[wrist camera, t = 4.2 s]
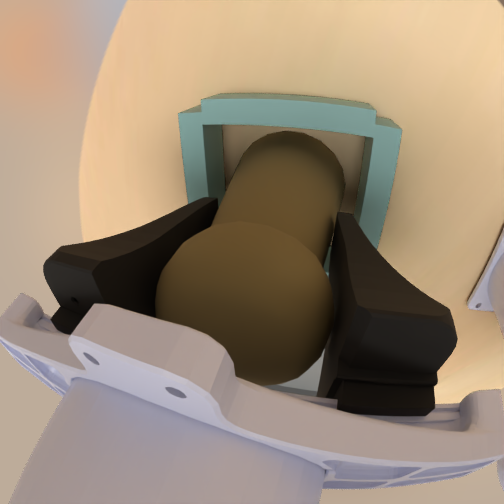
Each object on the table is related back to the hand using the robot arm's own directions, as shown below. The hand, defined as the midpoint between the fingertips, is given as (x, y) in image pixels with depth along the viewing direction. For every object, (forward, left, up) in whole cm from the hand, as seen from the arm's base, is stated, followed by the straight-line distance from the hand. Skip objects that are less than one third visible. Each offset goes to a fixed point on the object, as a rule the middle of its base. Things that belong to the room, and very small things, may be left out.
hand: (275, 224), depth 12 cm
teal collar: (0, 0, -4) cm, 4 cm away
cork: (0, 0, -5) cm, 5 cm away
